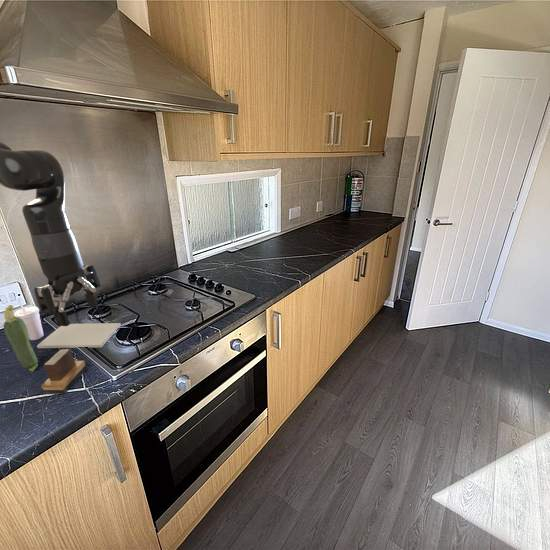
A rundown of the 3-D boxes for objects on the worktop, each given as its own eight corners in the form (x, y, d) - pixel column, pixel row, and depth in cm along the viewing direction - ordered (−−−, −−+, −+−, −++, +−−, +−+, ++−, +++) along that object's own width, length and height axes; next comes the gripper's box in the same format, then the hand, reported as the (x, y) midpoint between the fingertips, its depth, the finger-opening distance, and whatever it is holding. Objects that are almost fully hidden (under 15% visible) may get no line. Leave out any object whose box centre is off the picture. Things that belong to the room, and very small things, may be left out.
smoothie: (35, 331, 98) (19, 294, 93) (53, 331, 98) (38, 294, 92) (19, 342, 92) (1, 304, 87) (38, 342, 92) (21, 303, 86)
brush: (65, 394, 72) (54, 369, 69) (45, 394, 72) (33, 369, 69) (87, 369, 80) (78, 345, 77) (69, 369, 80) (60, 345, 77)
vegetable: (19, 373, 79) (-12, 309, 71) (33, 362, 83) (5, 301, 75) (33, 374, 79) (4, 310, 71) (47, 363, 83) (20, 301, 75)
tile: (37, 348, 90) (36, 345, 89) (64, 326, 101) (63, 323, 100) (101, 347, 89) (100, 344, 88) (121, 325, 100) (120, 323, 99)
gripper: (70, 240, 70) (89, 300, 77) (10, 261, 57) (39, 331, 64) (97, 241, 69) (114, 302, 75) (42, 263, 56) (68, 334, 62)
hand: (80, 315), depth 70 cm, fingers open, 8 cm apart
